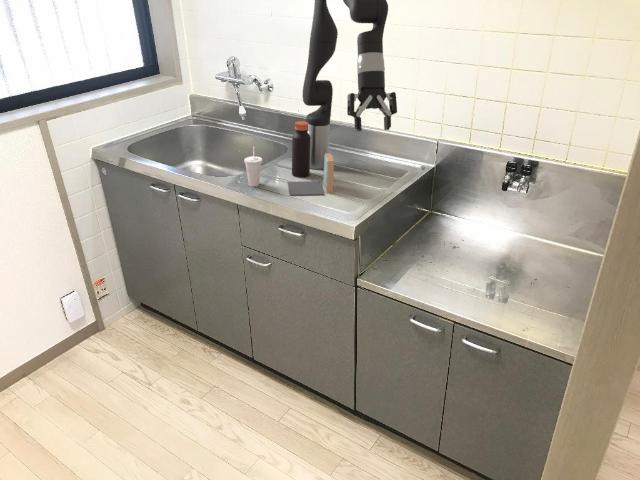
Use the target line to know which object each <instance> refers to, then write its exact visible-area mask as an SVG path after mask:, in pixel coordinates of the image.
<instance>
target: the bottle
mask: <svg viewBox="0 0 640 480" xmlns="http://www.w3.org/2000/svg"><path fill="white" fill-rule="evenodd" d="M294 131H295V132H294V133H293V134H292V136H291V139H292V140H291V148H292V149H291V175H292V176H294V177H296V178H306V177H308V176H310V171H311V168H310V140H311V137H310V135H309V134H308V133H307V131H308V122H306V121H302V120H299V121H295V122H294Z"/></svg>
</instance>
